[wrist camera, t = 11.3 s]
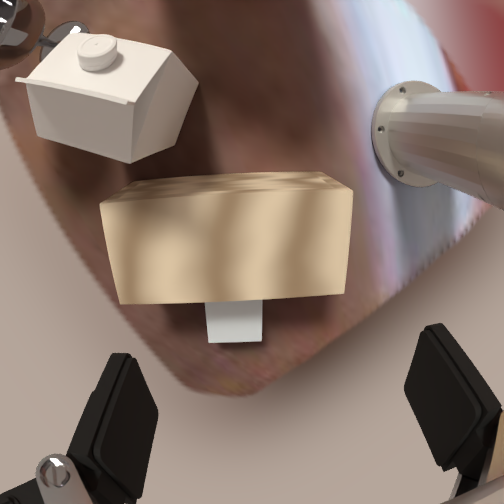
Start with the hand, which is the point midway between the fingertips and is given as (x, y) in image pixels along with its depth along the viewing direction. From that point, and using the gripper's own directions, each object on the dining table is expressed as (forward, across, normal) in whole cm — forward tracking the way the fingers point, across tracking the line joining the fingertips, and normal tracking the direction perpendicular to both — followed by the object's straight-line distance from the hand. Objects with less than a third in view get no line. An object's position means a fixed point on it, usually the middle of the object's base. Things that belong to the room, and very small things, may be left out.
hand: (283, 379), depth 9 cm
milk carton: (+26, +10, -10) cm, 29 cm away
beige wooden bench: (+26, +3, +2) cm, 26 cm away
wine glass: (+26, +20, -20) cm, 38 cm away
